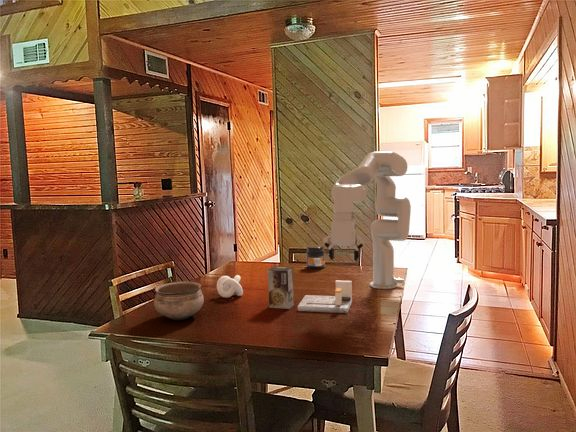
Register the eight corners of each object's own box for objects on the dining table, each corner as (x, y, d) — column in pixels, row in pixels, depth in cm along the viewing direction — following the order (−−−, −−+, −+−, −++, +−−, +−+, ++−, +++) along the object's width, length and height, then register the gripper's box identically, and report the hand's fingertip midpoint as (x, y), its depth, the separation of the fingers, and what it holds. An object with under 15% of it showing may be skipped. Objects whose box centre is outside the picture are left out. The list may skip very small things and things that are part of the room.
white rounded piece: (250, 295, 216) (250, 275, 215) (230, 301, 208) (229, 281, 207) (234, 291, 224) (233, 272, 223) (214, 296, 215) (213, 277, 214)
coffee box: (294, 304, 200) (293, 267, 198) (289, 309, 194) (288, 270, 192) (273, 303, 203) (272, 266, 201) (268, 307, 197) (267, 269, 195)
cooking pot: (197, 328, 175) (195, 295, 173) (146, 329, 175) (143, 296, 174) (210, 307, 199) (208, 278, 198) (165, 308, 200) (163, 279, 199)
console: (351, 301, 202) (351, 296, 202) (347, 313, 187) (347, 307, 186) (305, 299, 207) (305, 294, 207) (297, 310, 191) (297, 305, 191)
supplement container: (319, 270, 262) (318, 248, 261) (303, 268, 268) (302, 247, 266) (328, 266, 271) (328, 245, 269) (312, 264, 276) (311, 244, 275)
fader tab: (341, 302, 193) (341, 288, 192) (340, 305, 189) (340, 291, 188) (336, 301, 193) (336, 288, 193) (335, 304, 189) (335, 290, 189)
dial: (352, 296, 202) (352, 279, 201) (350, 300, 196) (350, 283, 195) (337, 295, 203) (336, 279, 202) (335, 299, 197) (334, 282, 197)
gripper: (367, 216, 189) (367, 258, 190) (324, 215, 194) (325, 256, 196) (363, 218, 181) (363, 262, 183) (319, 217, 187) (320, 260, 189)
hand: (343, 259), depth 190 cm, fingers open, 9 cm apart
